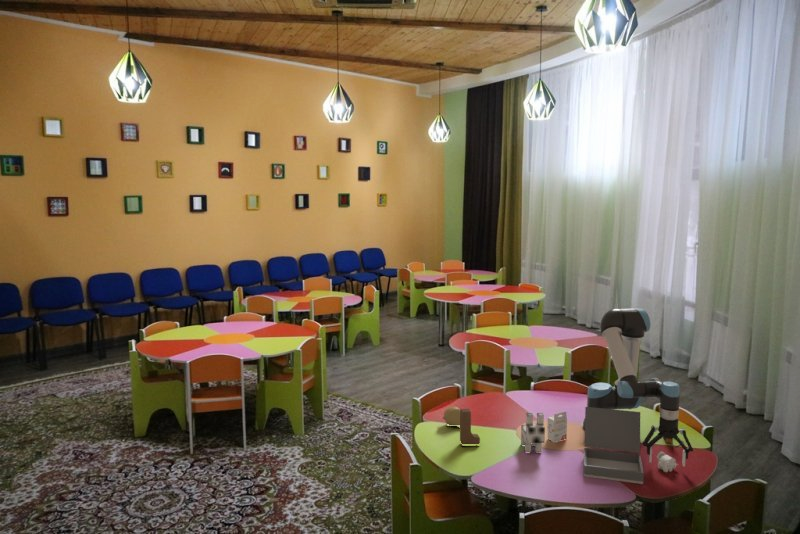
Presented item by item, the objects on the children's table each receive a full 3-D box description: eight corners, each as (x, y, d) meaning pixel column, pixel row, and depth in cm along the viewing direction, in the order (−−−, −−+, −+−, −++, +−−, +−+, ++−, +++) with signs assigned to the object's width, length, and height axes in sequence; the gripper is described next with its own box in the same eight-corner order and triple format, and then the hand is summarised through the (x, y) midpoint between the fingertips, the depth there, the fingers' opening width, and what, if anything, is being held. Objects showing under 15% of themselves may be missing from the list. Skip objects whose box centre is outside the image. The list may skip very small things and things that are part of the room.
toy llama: (535, 441, 290) (535, 403, 287) (544, 458, 272) (545, 417, 270) (519, 442, 290) (520, 403, 287) (528, 458, 272) (528, 417, 269)
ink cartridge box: (559, 436, 296) (560, 408, 294) (566, 439, 292) (567, 411, 290) (546, 439, 292) (547, 411, 290) (553, 443, 288) (554, 414, 286)
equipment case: (583, 476, 255) (584, 465, 254) (583, 458, 272) (584, 447, 271) (643, 484, 248) (643, 472, 247) (639, 464, 265) (639, 454, 264)
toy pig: (453, 436, 306) (468, 424, 303) (438, 419, 306) (453, 407, 303) (455, 428, 315) (470, 416, 312) (440, 411, 315) (455, 399, 312)
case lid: (585, 406, 275) (585, 406, 277) (584, 446, 272) (584, 446, 274) (640, 412, 268) (639, 412, 270) (639, 452, 264) (639, 452, 266)
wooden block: (477, 442, 289) (477, 407, 287) (479, 446, 285) (480, 411, 283) (459, 443, 288) (459, 408, 286) (461, 447, 284) (461, 412, 282)
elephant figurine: (682, 471, 258) (683, 456, 257) (664, 475, 255) (665, 459, 254) (669, 464, 265) (670, 449, 264) (652, 467, 263) (652, 452, 262)
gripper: (639, 417, 257) (637, 463, 260) (702, 423, 250) (699, 470, 253) (637, 411, 264) (635, 456, 267) (698, 417, 257) (696, 463, 260)
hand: (666, 463), depth 260 cm, fingers open, 13 cm apart
